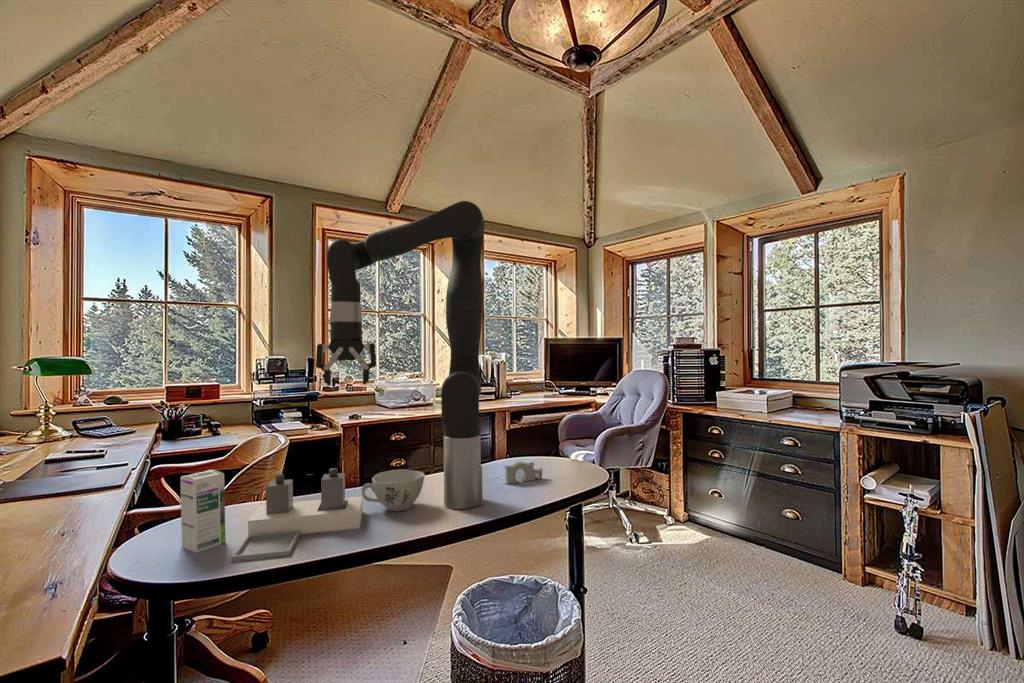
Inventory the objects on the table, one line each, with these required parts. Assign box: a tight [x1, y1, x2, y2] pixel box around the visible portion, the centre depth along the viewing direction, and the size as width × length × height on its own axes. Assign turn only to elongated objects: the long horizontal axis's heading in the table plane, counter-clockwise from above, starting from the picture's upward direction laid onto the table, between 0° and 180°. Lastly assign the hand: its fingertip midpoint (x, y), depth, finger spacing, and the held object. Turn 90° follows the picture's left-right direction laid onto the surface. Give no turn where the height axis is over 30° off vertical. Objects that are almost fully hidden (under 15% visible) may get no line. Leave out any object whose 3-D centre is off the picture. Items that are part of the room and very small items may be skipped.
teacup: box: [361, 468, 426, 512], centre depth 116 cm, size 15×12×8 cm
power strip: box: [247, 473, 364, 535], centre depth 105 cm, size 22×10×12 cm, turn 104°
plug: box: [320, 467, 346, 511], centre depth 107 cm, size 4×4×12 cm
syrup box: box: [180, 469, 226, 554], centre depth 95 cm, size 6×6×14 cm
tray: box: [230, 530, 301, 563], centre depth 94 cm, size 10×10×1 cm
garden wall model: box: [504, 461, 544, 484], centre depth 138 cm, size 12×2×6 cm, turn 117°
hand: (346, 384), depth 120 cm, fingers open, 8 cm apart
